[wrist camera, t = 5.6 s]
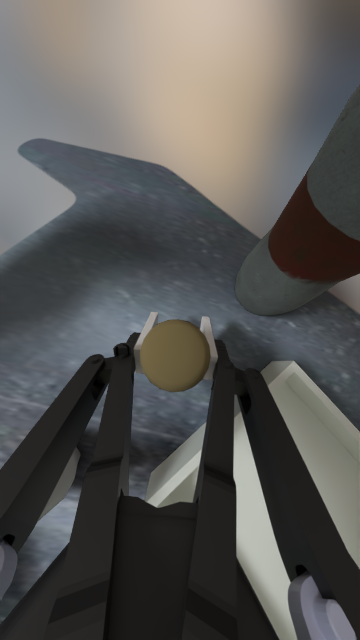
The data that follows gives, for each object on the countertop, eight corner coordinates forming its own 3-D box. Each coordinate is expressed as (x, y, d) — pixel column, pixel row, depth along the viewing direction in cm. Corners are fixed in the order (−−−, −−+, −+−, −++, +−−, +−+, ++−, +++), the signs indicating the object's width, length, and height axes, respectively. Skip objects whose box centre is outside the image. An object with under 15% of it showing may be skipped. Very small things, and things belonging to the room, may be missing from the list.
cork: (204, 375, 20) (234, 391, 9) (158, 386, 19) (134, 416, 9) (192, 330, 21) (208, 300, 11) (150, 340, 21) (122, 317, 10)
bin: (151, 472, 17) (143, 504, 13) (271, 361, 21) (293, 360, 17) (282, 691, 13) (325, 827, 9) (404, 509, 17) (473, 553, 13)
